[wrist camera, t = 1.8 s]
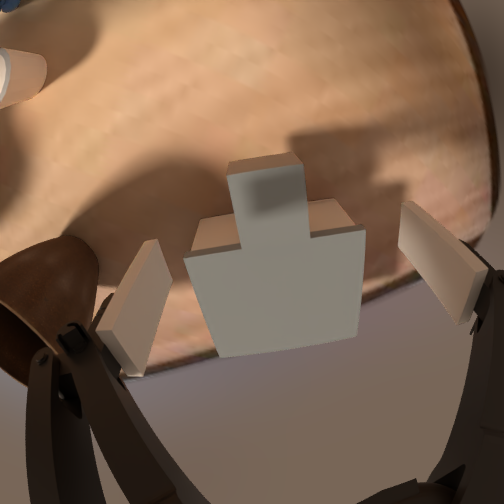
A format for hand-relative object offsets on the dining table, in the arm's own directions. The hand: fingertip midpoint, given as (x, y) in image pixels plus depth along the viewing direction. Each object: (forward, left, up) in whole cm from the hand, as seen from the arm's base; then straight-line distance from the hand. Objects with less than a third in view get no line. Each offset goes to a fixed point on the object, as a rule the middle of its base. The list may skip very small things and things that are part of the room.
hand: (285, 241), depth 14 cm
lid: (0, -7, -9) cm, 11 cm away
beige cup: (-23, +18, -14) cm, 33 cm away
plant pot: (-25, -6, -14) cm, 30 cm away
